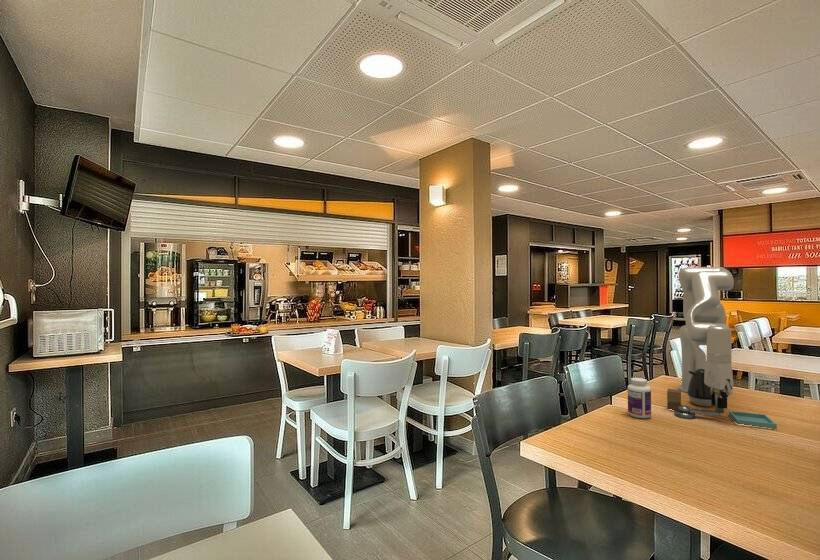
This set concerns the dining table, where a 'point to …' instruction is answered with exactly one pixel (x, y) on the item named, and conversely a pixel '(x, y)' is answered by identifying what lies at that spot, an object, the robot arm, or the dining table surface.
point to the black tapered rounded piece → (699, 389)
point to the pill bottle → (639, 398)
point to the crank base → (684, 415)
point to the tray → (752, 419)
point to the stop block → (673, 399)
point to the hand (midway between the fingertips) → (719, 406)
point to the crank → (700, 411)
